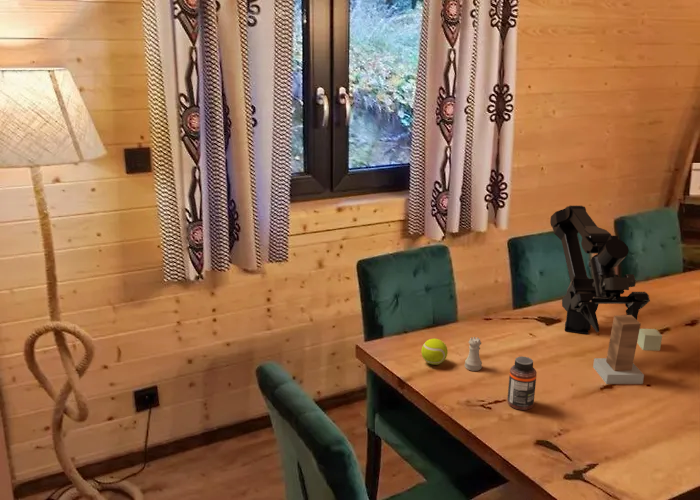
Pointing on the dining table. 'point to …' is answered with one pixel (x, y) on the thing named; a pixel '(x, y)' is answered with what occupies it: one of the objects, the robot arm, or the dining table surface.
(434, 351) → the tennis ball
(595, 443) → the dining table surface
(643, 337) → the sage cube
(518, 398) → the supplement bottle
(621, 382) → the slate slab
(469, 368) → the rook chess piece
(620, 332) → the walnut pillar
